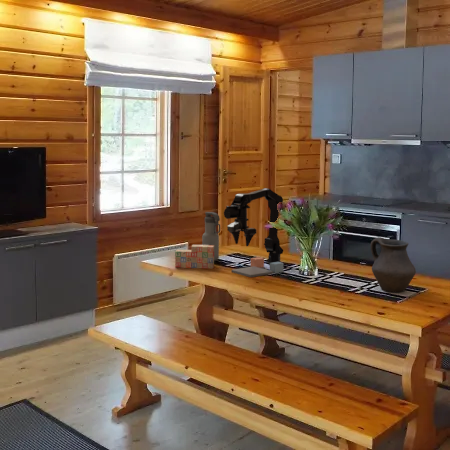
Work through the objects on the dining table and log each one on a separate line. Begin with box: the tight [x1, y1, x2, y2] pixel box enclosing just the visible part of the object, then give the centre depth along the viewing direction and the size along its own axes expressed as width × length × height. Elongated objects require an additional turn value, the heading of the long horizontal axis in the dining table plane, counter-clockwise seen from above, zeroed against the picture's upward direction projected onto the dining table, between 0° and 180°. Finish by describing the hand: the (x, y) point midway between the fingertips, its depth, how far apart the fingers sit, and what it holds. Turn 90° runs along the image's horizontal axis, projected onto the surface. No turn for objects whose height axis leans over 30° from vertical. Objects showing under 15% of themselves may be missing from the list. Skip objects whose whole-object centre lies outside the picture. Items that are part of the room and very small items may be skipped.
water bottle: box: [201, 211, 221, 261], centre depth 379 cm, size 10×10×28 cm
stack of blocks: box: [174, 244, 215, 269], centre depth 358 cm, size 21×6×12 cm, turn 85°
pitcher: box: [370, 236, 417, 293], centre depth 307 cm, size 21×22×25 cm
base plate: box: [231, 266, 274, 278], centre depth 345 cm, size 16×16×1 cm
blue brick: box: [269, 261, 285, 274], centre depth 347 cm, size 6×4×5 cm
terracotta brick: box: [250, 256, 265, 268], centre depth 360 cm, size 6×4×5 cm
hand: (241, 245), depth 352 cm, fingers open, 9 cm apart
